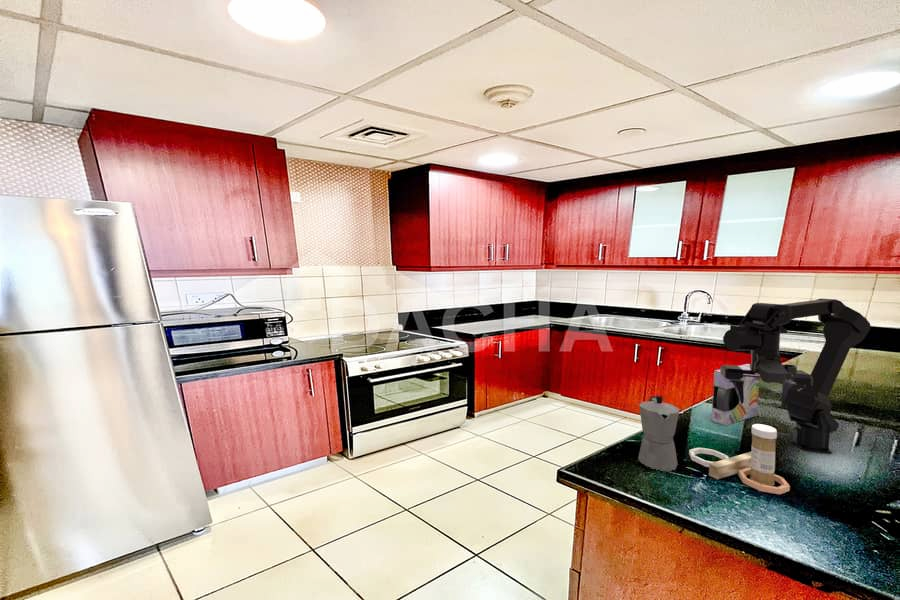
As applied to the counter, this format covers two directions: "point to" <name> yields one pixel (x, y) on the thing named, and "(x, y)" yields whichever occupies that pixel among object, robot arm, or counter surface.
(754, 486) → the keeper collar
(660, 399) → the coffeepot
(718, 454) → the collar
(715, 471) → the door edge rail
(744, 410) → the cake pan box
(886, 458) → the counter surface
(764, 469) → the sprinkles bottle
